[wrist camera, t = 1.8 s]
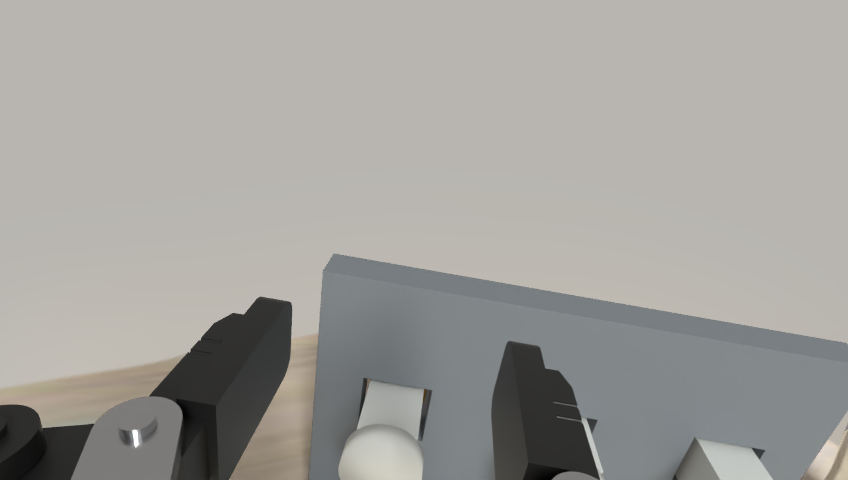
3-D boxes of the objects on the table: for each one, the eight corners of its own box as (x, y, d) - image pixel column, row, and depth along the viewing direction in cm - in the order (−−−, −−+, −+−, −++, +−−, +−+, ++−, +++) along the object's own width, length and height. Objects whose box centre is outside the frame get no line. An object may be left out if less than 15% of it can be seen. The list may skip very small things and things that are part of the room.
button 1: (700, 563, 22) (735, 508, 21) (634, 415, 31) (655, 368, 30) (783, 578, 22) (824, 524, 21) (693, 425, 31) (717, 379, 30)
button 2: (335, 496, 23) (341, 437, 21) (372, 368, 32) (378, 319, 30) (415, 511, 23) (427, 452, 21) (430, 378, 32) (439, 330, 30)
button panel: (283, 580, 26) (295, 315, 19) (331, 440, 35) (351, 225, 28) (759, 670, 26) (958, 433, 18) (682, 504, 35) (795, 302, 28)
